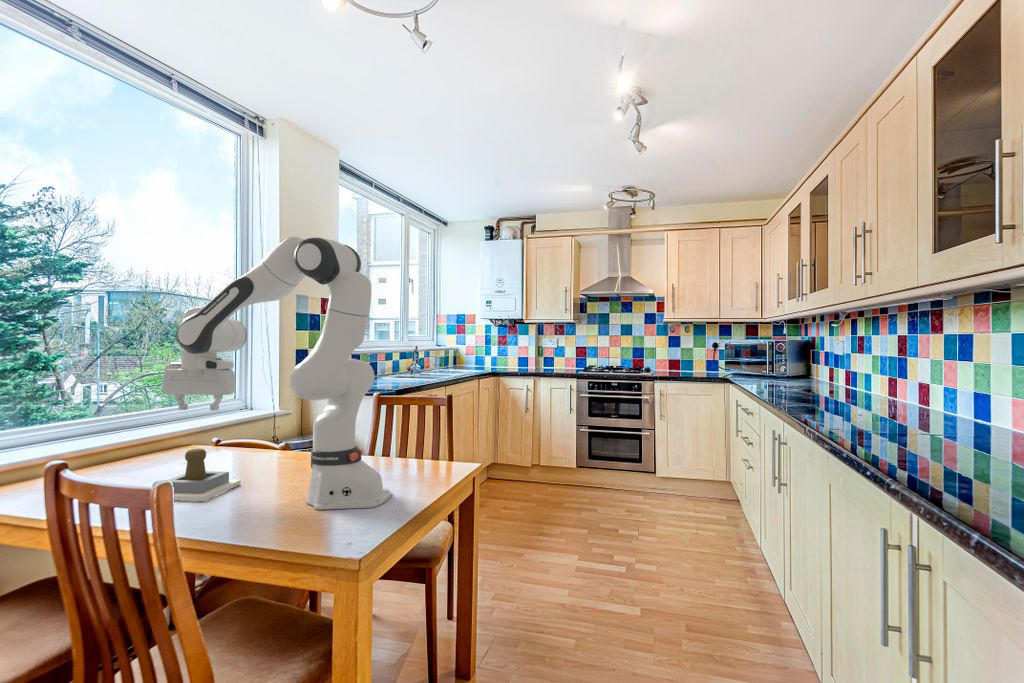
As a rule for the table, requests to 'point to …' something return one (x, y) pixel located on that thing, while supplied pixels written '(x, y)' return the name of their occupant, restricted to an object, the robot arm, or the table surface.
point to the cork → (195, 464)
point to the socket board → (207, 494)
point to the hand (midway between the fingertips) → (198, 410)
